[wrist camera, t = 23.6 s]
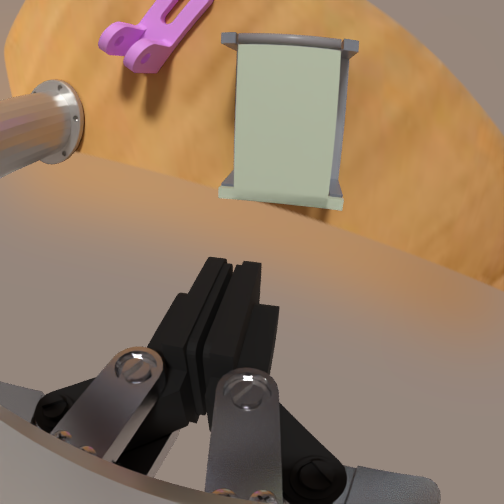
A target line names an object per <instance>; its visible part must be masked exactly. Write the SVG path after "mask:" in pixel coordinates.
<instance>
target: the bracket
mask: <svg viewBox="0 0 504 504" xmlns="http://www.w3.org/2000/svg"><path fill="white" fill-rule="evenodd" d="M178 1H179V0H156V2H155V3H154V4H153V5H152V7H151V8H150V9H149V11H148V12H147V13H146V15H145V16H144V17H143V19H142V20H141V21H140V23H139V24H137V25H132V24H128V23H124V22H115V23H113V24H111V25H110V26H109V27H107V28H106V29H105V31H104V32H103V33H102V35H101V37H100V39H99V42H98V46H99V48H100V49H101V50H103V51H104V52H106V53H107V54H109V55H119V56H125V57H124V61H123V63H124V65H125V66H126V67H127V68H129V69H130V70H131V71H133V72H134V73H157V72H158V71H159V69H160V68H161V67H162V65H163V64H164V63H165V61H166V60H167V58H168V57H169V56H170V54H171V53H172V52H173V50H174V49H175V48H176V46H177V45H178V44H179V43H180V41H181V40H182V39H183V37H184V36H185V35H186V34H187V32H188V31H189V30H190V29H191V27H192V26H193V25H194V24H195V23H196V21H197V20H198V19H199V18H200V17H201V15H202V14H203V13H204V12H205V11H206V10H207V9H208V7H209V6H210V5H211V4H212V2H213V1H214V0H190V1H189V3H188V4H187V5H186V6H185V7H184V9H183V10H182V11H181V12H180V13H179V15H178V16H177V17H176V18H175V20H174V21H173V22H172V23H170V24H166V23H165V17H166V16H167V14H168V13H169V12H170V11H171V9H172V8H173V7H174V6H175V4H176V3H177V2H178Z"/></svg>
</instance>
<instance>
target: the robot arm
mask: <svg viewBox="0 0 504 504" xmlns="http://www.w3.org/2000/svg"><path fill="white" fill-rule="evenodd" d="M83 126H84V114H83V108H82V104H81V101H80V98H79V96H78V94H77V92H76V91H75V90H74V88H73V87H72V86H71V85H69V84H68V83H67V82H64V81H62V80H48V81H45V82H43V83H41V84H39V85H38V86H37V87H36V88H35V89H34V90H33V91H32V93H31V94H27V95H22V96H17V97H13V98H8V99H4V100H0V178H2V177H4V176H6V175H8V174H10V173H12V172H14V171H16V170H18V169H21V168H23V167H25V166H27V165H29V164H32V163H34V162H36V161H38V160H40V161H42V162H44V163H47V164H57V163H60V162H63V161H65V160H66V159H68V158H69V157H70V156H71V155H72V154H73V153H74V152H75V150H76V149H77V147H78V145H79V143H80V140H81V137H82V133H83ZM260 282H261V263H257V262H249V261H244V262H243V264H242V265H236V267H235V270H234V272H233V266H232V264H228V263H227V260H226V259H223V258H215V257H209V258H208V259H207V261H206V262H205V264H204V266H203V268H202V270H201V271H200V273H199V275H198V277H197V278H196V280H195V282H194V284H193V286H192V287H191V289H190V291H189V293H188V294H186V293H179V294H178V295H177V296H176V298H175V300H174V301H173V303H172V305H171V306H170V308H169V310H168V312H167V313H166V315H165V317H164V318H163V320H162V322H161V324H160V325H159V327H158V329H157V330H156V332H155V334H154V336H153V337H152V339H151V341H150V343H149V344H148V346H147V348H146V347H131V348H127V349H125V350H123V351H121V352H119V353H118V354H117V355H115V356H114V357H113V358H112V360H111V361H110V362H109V363H108V364H107V365H106V366H105V368H104V369H103V370H102V371H101V372H100V374H99V375H98V376H97V377H96V378H92V379H89V380H87V381H83V382H80V383H78V384H74V385H72V386H68V387H65V388H62V389H59V390H56V391H53V392H50V393H49V394H46V395H44V393H43V392H42V391H38V390H33V389H28V388H24V387H20V386H16V385H12V384H8V383H4V382H0V504H440V500H441V499H440V490H439V488H438V486H437V484H436V483H435V482H433V481H432V480H431V479H429V478H425V477H421V476H413V475H407V474H400V473H394V472H388V471H383V470H376V469H372V468H366V467H362V466H357V468H353V467H349V466H345V465H342V464H341V463H340V461H339V460H338V459H337V458H335V456H334V455H332V453H330V452H329V451H328V450H327V449H326V448H325V447H324V446H323V445H322V444H321V443H320V442H319V441H318V440H317V439H316V438H315V437H314V436H312V434H311V433H309V432H308V431H307V430H306V429H305V428H304V427H303V426H302V425H301V424H300V423H299V422H298V421H297V420H296V419H295V418H294V417H293V416H292V415H291V414H290V413H289V412H288V411H287V410H286V409H285V408H284V407H283V406H282V404H280V403H279V391H278V387H277V383H276V382H275V381H274V379H273V378H272V377H271V376H270V370H271V364H272V358H273V353H274V347H275V340H276V333H277V325H278V316H279V306H271V305H264V304H259V299H260ZM206 413H207V415H208V423H209V430H210V432H211V437H210V447H209V454H208V464H207V473H206V483H205V492H203V491H199V490H194V489H191V488H187V487H183V486H179V485H175V484H172V483H169V482H165V481H162V480H158V479H155V478H154V476H155V475H156V473H157V471H158V470H159V468H160V466H161V465H162V463H163V461H164V459H165V458H166V456H167V454H168V453H169V451H170V449H171V447H172V446H173V444H174V442H175V441H176V439H177V437H178V435H179V432H180V429H181V428H183V427H186V426H188V424H189V422H193V423H197V421H198V418H199V415H205V414H206Z"/></svg>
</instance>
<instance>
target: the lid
mask: <svg viewBox="0 0 504 504" xmlns="http://www.w3.org/2000/svg"><path fill="white" fill-rule="evenodd" d="M238 42H239V44H238V65H237V91H236V120H235V154H234V187H230V186H220V187H219V198H226V199H237V200H248V201H259V202H269V203H279V204H289V205H298V206H307V207H316V208H325V209H333V210H341V211H342V208H343V201H344V200H343V198H339V197H331V196H328V195H329V186H330V178H331V169H332V160H333V151H334V141H335V130H336V119H337V106H338V93H339V78H340V60H341V51H339V50H341V39H334V38H326V37H316V36H305V35H291V34H269V33H239V35H238ZM259 44H274V45H259ZM285 45H293V46H285ZM300 46H306V47H300ZM312 47H317V48H312ZM322 48H326V49H322ZM331 49H334V50H331Z"/></svg>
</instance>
